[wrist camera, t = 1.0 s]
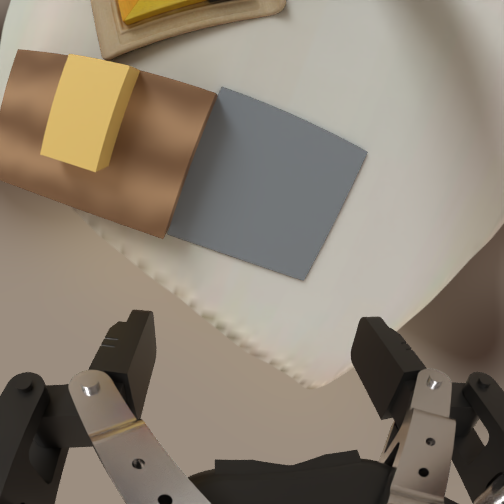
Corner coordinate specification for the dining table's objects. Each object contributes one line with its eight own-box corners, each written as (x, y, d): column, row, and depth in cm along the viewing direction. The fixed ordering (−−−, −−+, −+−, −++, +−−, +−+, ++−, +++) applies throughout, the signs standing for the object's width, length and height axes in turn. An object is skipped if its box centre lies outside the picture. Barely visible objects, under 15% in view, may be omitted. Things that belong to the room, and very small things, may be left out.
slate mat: (221, 87, 27) (221, 86, 26) (366, 151, 30) (367, 151, 30) (167, 232, 33) (167, 234, 32) (302, 279, 36) (303, 280, 36)
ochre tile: (84, 58, 21) (69, 53, 18) (140, 70, 22) (129, 66, 19) (56, 149, 24) (40, 154, 21) (108, 165, 25) (95, 172, 23)
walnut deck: (37, 53, 23) (18, 49, 19) (217, 96, 27) (215, 93, 24) (9, 168, 28) (-11, 176, 24) (170, 224, 32) (163, 239, 29)
